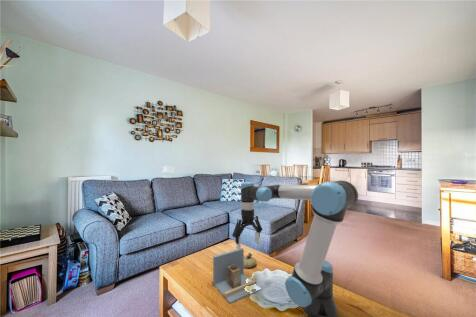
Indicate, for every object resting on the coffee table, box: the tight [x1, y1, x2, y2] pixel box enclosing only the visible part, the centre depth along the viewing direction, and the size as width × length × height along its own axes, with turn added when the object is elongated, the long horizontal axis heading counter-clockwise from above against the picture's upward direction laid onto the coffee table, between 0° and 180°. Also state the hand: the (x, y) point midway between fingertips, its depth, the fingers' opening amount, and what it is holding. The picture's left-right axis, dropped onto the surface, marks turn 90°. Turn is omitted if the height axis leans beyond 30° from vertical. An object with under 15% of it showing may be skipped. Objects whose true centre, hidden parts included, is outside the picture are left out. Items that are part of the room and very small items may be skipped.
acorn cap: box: [244, 252, 258, 269], centre depth 135 cm, size 10×11×10 cm
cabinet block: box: [227, 265, 241, 289], centre depth 111 cm, size 7×5×10 cm
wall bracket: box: [212, 247, 257, 304], centre depth 111 cm, size 20×20×16 cm
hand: (248, 246), depth 112 cm, fingers open, 13 cm apart
